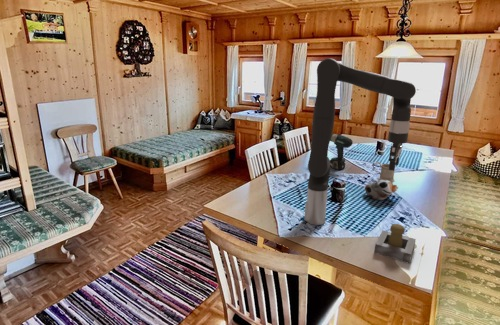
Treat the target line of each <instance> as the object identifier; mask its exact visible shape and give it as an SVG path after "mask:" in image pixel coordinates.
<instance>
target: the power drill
mask: <svg viewBox="0 0 500 325" xmlns="http://www.w3.org/2000/svg"><path fill="white" fill-rule="evenodd" d="M330 142H332V143H333V144H334V145H335V148H336V152H337V156H334V157H331V158H330V159H329V160H330V169H334V170H338V171H339V170H344V169H345V168H346V159H345V158H343V157H344V152H345V151H344V148H345V149H348V148H349V149H350V147H351V146H353V139H351V138H350V137H348V136H344V135H342V134H336V133H332V135H331V139H330Z"/></svg>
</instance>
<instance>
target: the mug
mask: <svg viewBox="0 0 500 325" xmlns="http://www.w3.org/2000/svg"><path fill="white" fill-rule="evenodd" d="M377 164H378V165H379V168H380V171H379V170H376V169H375V165H377ZM389 164H390V163H382V164H381V162H380V161H376V162H375V163H374V164H373V165H372V168H373V170H374V172H377V173H378V174H379V177H378V179H377V180H378V181H379V180H388V181H390V182H391V183H394V182H395V181H396V180H395V178H394V177H395V176H394V175H395V171H396V170H394V171H392V170H389Z"/></svg>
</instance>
